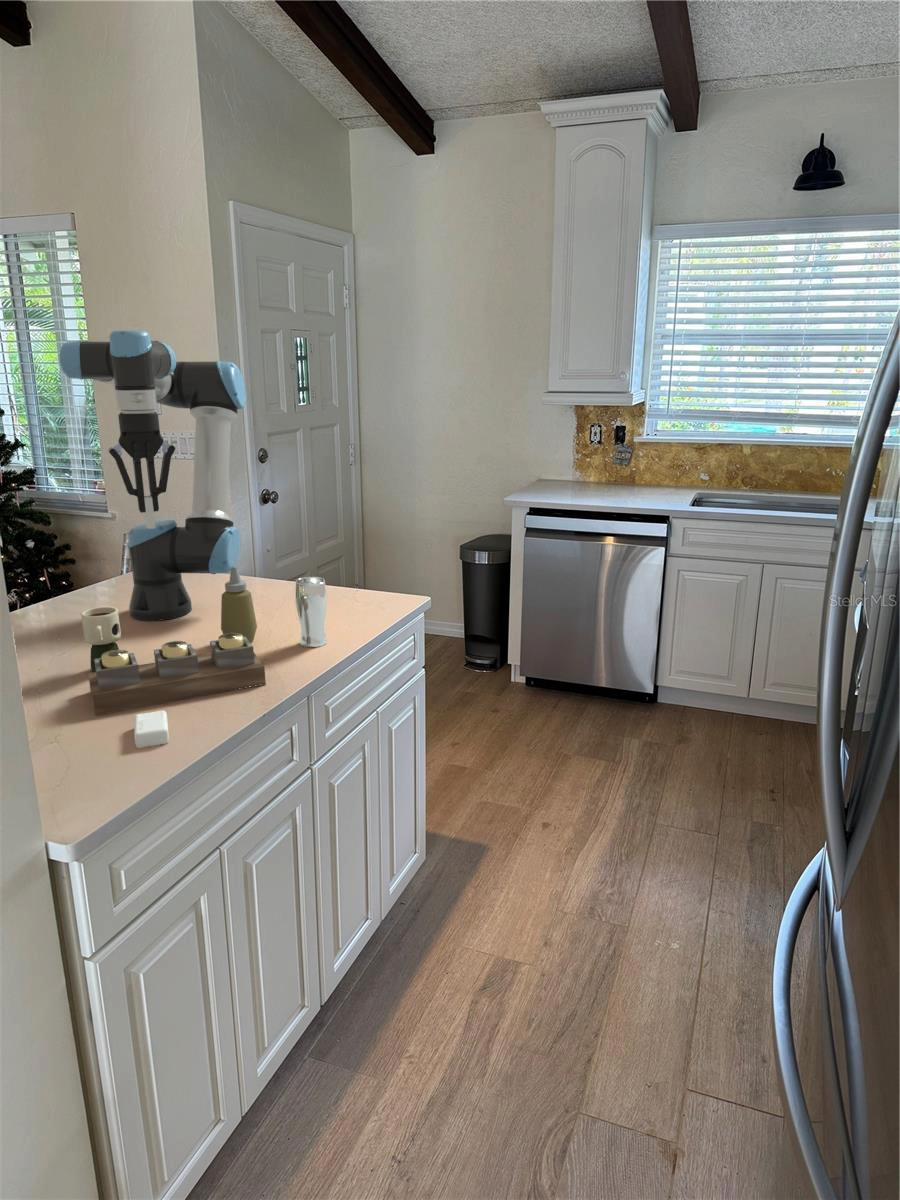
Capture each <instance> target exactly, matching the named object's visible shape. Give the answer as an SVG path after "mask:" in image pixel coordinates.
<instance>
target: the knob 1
mask: <svg viewBox="0 0 900 1200" xmlns="http://www.w3.org/2000/svg"><path fill="white" fill-rule="evenodd" d="M128 654H129V651H127V650H125V649H119V650H112V651H108V652H105V653H103V654H102V655H101V657H102V664H103V669H107V668H113V667H120V666H126V665H130V663H129V655H128Z"/></svg>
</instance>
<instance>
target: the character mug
mask: <svg viewBox="0 0 900 1200" xmlns="http://www.w3.org/2000/svg"><path fill="white" fill-rule="evenodd" d="M80 615H81V616H80V617H81V622H82V629H83V637H84V642H85V644H88V645H91V647H90V671H92V672H96V668H95V661H94V659H97V658H102V657H101V655H102V654H103V653H105V652H108V651H112V650H120V648H119V646H118V644H117V643H116V642H117V641H119V640H121V638H122V633H121V623H120V618H119V617H120V616H119V610H118V608H117V607H114V606H97V607H91V608H88V609H85V610H83V611H82V612H81V613H80Z"/></svg>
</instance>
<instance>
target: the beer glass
mask: <svg viewBox="0 0 900 1200" xmlns="http://www.w3.org/2000/svg"><path fill="white" fill-rule="evenodd" d="M294 590H295V591H294V593H295V606H296V611H297V615H298V620H299V623H300V632H301V633H300V639H299V640H300V641H299V644H300V646H302V647H303V646H304V648H308V647H315V648H320V647H319V646H321V647H323V646H325V645H327V643H328V641H327V640H328V639H327V637H326V632H325V631H326V630H325V622H326V615H327V603H328V601H327V599H328V595H327V587H326V580H325V578H323V577H320V576H305V577H300V578H298V579H296V580H295V589H294Z"/></svg>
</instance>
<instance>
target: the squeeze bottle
mask: <svg viewBox="0 0 900 1200" xmlns="http://www.w3.org/2000/svg"><path fill="white" fill-rule="evenodd" d="M229 575H230V576H229V580H227V581H226V582H225V583H224V588H225V591H224V592H223V593H222V594H221V607H220V608H221V609H220V610H221V611H220V612H221V613H220V615H221V616H220V618H221V619H220V630H221V632H222V635H223V634H226V633H240V634H242V635H243V636H245V637H246V638H247V639H248V641H249V642H250V643H251V644H253V642H254V640H255V637H256V632H257V629H258V623H257V618H256V614H255V608H254V601H253V596H252V592H251V591H250V590H248V589H247V582H246V581H245V580H242V579H241V575H240V573H239V571H238V567H237V566H235V567H231V571H230V574H229Z"/></svg>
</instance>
